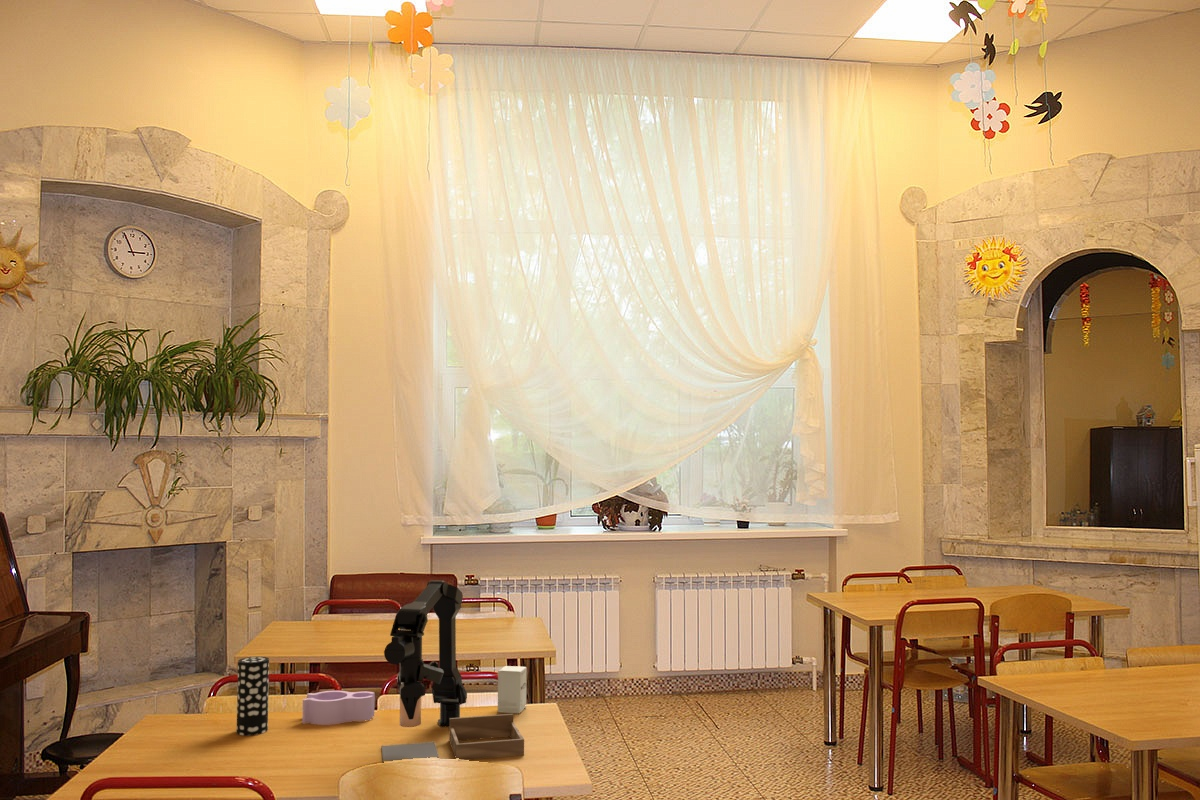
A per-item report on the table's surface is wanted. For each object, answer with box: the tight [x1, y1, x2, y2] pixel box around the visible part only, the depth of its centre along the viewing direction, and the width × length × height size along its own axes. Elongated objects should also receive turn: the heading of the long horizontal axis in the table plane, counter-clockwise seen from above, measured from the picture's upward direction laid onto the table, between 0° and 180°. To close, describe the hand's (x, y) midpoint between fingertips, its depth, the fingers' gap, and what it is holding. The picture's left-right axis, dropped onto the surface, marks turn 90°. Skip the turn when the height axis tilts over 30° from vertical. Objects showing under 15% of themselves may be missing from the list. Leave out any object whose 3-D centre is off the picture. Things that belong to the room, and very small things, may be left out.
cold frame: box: [448, 713, 525, 760], centre depth 252 cm, size 18×18×6 cm
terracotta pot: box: [399, 696, 422, 728], centre depth 247 cm, size 6×6×9 cm
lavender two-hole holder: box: [301, 690, 376, 726], centre depth 280 cm, size 20×12×7 cm, turn 97°
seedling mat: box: [381, 741, 440, 763], centre depth 247 cm, size 14×14×1 cm
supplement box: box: [497, 665, 528, 714], centre depth 289 cm, size 7×7×13 cm
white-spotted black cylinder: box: [235, 656, 270, 737], centre depth 267 cm, size 8×8×20 cm
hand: (410, 716), depth 247 cm, fingers closed on terracotta pot, 5 cm apart
